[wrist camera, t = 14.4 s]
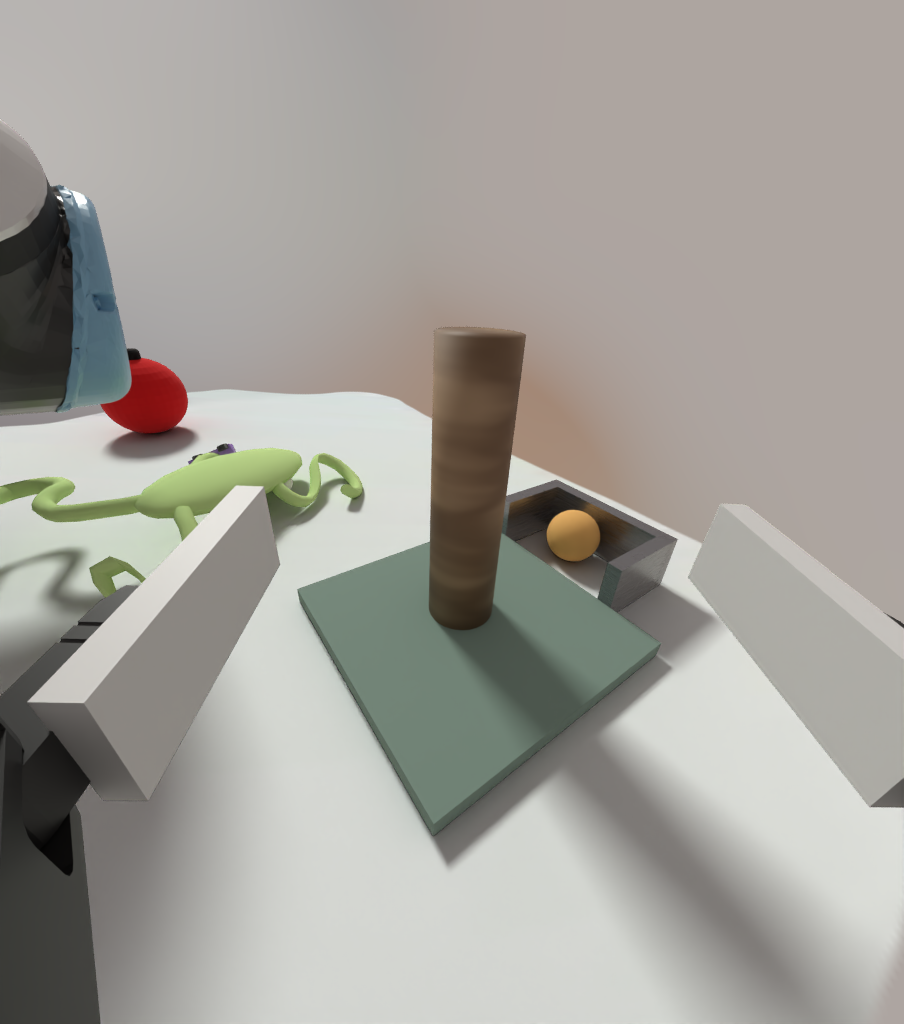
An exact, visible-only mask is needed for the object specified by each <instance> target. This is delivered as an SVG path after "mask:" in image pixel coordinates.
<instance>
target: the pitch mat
mask: <svg viewBox="0 0 904 1024" xmlns="http://www.w3.org/2000/svg"><path fill="white" fill-rule="evenodd" d="M429 568H430V542H428V543H425V544H422V545H419V546H416V547H414V548H411V549H408V550H405V551H403V552H400V553H397V554H394V555H391V556H389V557H386V558H383V559H380V560H377V561H375V562H372V563H369V564H366V565H364V566H361V567H358V568H355V569H352V570H350V571H347V572H344V573H341V574H338V575H336V576H333V577H330V578H327V579H325V580H322V581H319V582H316V583H313V584H311V585H308V586H305V587H302V588H299V589H297V590H298V595H299V600H300V602H301V604H302V606H303V608H304V609H305V611H306V613H307V615H308V617H309V618H310V620H311V622H312V624H313V625H314V627H315V629H316V631H317V632H318V634H319V636H320V638H321V639H322V641H323V643H324V645H325V647H326V648H327V650H328V652H329V654H330V655H331V657H332V659H333V661H334V662H335V664H336V666H337V668H338V669H339V671H340V673H341V675H342V676H343V678H344V680H345V682H346V684H347V685H348V687H349V689H350V691H351V692H352V694H353V696H354V698H355V699H356V701H357V703H358V705H359V706H360V708H361V710H362V712H363V714H364V715H365V717H366V719H367V721H368V722H369V724H370V726H371V728H372V729H373V731H374V733H375V735H376V736H377V738H378V740H379V742H380V744H381V745H382V747H383V749H384V751H385V752H386V754H387V756H388V758H389V759H390V761H391V763H392V765H393V766H394V768H395V770H396V772H397V773H398V775H399V777H400V779H401V781H402V782H403V784H404V786H405V788H406V789H407V791H408V793H409V795H410V796H411V798H412V800H413V802H414V803H415V805H416V807H417V809H418V811H419V812H420V814H421V816H422V818H423V819H424V821H425V823H426V825H427V826H428V828H429V830H430V832H431V833H432V835H433V836H434V835H435V834H437V833H438V832H439V831H440V830H442V829H443V828H444V827H445V826H446V825H448V824H449V823H450V822H451V821H453V820H454V819H455V818H456V817H458V816H459V815H460V814H461V813H462V812H464V811H465V810H466V809H467V808H469V807H470V806H471V805H472V804H474V803H475V802H476V801H477V800H478V799H480V798H481V797H482V796H483V795H485V794H486V793H487V792H488V791H489V790H491V789H492V788H493V787H494V786H496V785H497V784H498V783H499V782H501V781H502V780H503V779H504V778H505V777H507V776H508V775H509V774H510V773H512V772H513V771H514V770H515V769H517V768H518V767H519V766H520V765H521V764H523V763H524V762H525V761H526V760H528V759H529V758H530V757H531V756H532V755H534V754H535V753H536V752H537V751H539V750H540V749H541V748H542V747H544V746H545V745H546V744H547V743H548V742H550V741H551V740H552V739H553V738H555V737H556V736H557V735H558V734H559V733H561V732H562V731H563V730H564V729H566V728H567V727H568V726H569V725H571V724H572V723H573V722H574V721H575V720H577V719H578V718H579V717H580V716H582V715H583V714H584V713H585V712H587V711H588V710H589V709H590V708H591V707H593V706H594V705H595V704H596V703H598V702H599V701H600V700H601V699H602V698H604V697H605V696H606V695H607V694H609V693H610V692H611V691H612V690H614V689H615V688H616V687H617V686H618V685H620V684H621V683H622V682H623V681H625V680H626V679H627V678H628V677H630V676H631V675H632V674H633V673H634V672H636V671H637V670H638V669H639V668H641V667H642V666H643V665H644V664H645V663H647V662H648V661H649V660H650V659H652V658H653V657H654V656H655V655H656V654H657V651H658V649H659V647H660V644H661V643H660V642H659V641H657V640H656V639H654V638H653V637H651V636H650V635H649V634H647V633H646V632H644V631H643V630H641V629H640V628H639V627H637V626H636V625H634V624H633V623H631V622H630V621H628V620H627V619H626V618H624V617H623V616H621V615H620V614H618V613H617V612H615V611H614V610H613V609H611V608H610V607H608V606H607V605H605V604H604V603H602V602H601V601H600V600H598V599H597V598H595V597H594V596H592V595H591V594H590V593H588V592H587V591H585V590H584V589H582V588H581V587H579V586H578V585H577V584H575V583H574V582H572V581H571V580H569V579H568V578H566V577H565V576H564V575H562V574H561V573H559V572H558V571H556V570H555V569H554V568H552V567H551V566H549V565H548V564H546V563H545V562H543V561H542V560H541V559H539V558H538V557H536V556H535V555H533V554H532V553H530V552H529V551H528V550H526V549H525V548H523V547H522V546H520V545H519V544H517V543H516V542H515V541H513V540H512V539H510V538H509V537H507V536H506V535H505V534H503V533H501V541H500V549H499V557H498V565H497V574H496V582H495V590H494V598H493V606H492V613H491V616H490V618H489V619H488V620H487V622H486V623H484V624H483V625H481V626H479V627H477V628H474V629H470V630H454V629H450V628H447V627H445V626H442V625H441V624H439V623H438V622H436V621H435V620H434V619H433V617H432V616H431V614H430V611H429Z"/></svg>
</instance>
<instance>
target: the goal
mask: <svg viewBox="0 0 904 1024" xmlns="http://www.w3.org/2000/svg"><path fill="white" fill-rule="evenodd" d="M567 510H579V511H582V512H585V513H587V514H588V515H590V516H591V517H592V518H593V519H594V520H595V521H596V523H597V525H598V527H599V530H600V542H599V545H598V547H597V549H596V551H595V552H594V554H596V555H597V556H599V557H601V558H602V559H604V560H606V561H607V562H608V565H607V568H606V571H605V575H604V578H603V582H602V585H601V588H600V592H599V595H598V600H600V601H601V602H602V603H604V604H605V605H607V606H608V607H610V608H611V609H613V610H614V611H615V612H618V611H620V610H621V609H623V608H625V607H626V606H628V605H629V604H631V603H632V602H634V601H635V600H637V599H638V598H640V597H641V596H643V595H644V594H646V593H647V592H649V591H651V590H652V589H654V588H655V587H657V586H658V585H660V583H661V581H662V578H663V576H664V573H665V571H666V568H667V565H668V563H669V560H670V558H671V555H672V552H673V550H674V547H675V545H676V542H677V540H678V539H676V538H674V537H672V536H670V535H668V534H666V533H664V532H662V531H660V530H658V529H656V528H654V527H652V526H650V525H648V524H646V523H644V522H641V521H639V520H637V519H635V518H633V517H631V516H629V515H627V514H625V513H623V512H621V511H619V510H617V509H615V508H613V507H611V506H609V505H607V504H605V503H603V502H601V501H599V500H597V499H595V498H593V497H591V496H589V495H587V494H585V493H583V492H581V491H579V490H577V489H575V488H572V487H570V486H568V485H566V484H564V483H562V482H560V481H558V480H554V481H551V482H548V483H545V484H542V485H539V486H536V487H533V488H530V489H527V490H524V491H521V492H517V493H514V494H511V495H508V496H506V501H505V509H504V517H503V525H502V533H503V534H505V535H506V536H507V537H509V538H510V539H512V540H513V541H516V540H519V539H521V538H523V537H526V536H528V535H531V534H533V533H536V532H538V531H540V530H543V529H545V528H548V526H549V524H550V522H551V521H552V519H553V518H554V517H555V516H556V515H558V514H559V513H561V512H564V511H567Z"/></svg>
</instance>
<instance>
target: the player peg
mask: <svg viewBox="0 0 904 1024" xmlns="http://www.w3.org/2000/svg"><path fill="white" fill-rule="evenodd" d="M525 338H526V335H525V334H523V333H521V332H516V331H510V330H504V329H494V328H481V327H445V328H438V329H435V330H434V363H433V364H434V365H433V366H434V367H433V414H432V416H433V417H432V465H431V516H430V568H429V611H430V614H431V616H432V617H433V619H434V620H435V621H436V622H438V623H439V624H441V625H442V626H445V627H447V628H450V629H454V630H470V629H474V628H477V627H479V626H481V625H483V624H484V623H486V622H487V620H488V619H489V618H490V616H491V613H492V606H493V598H494V590H495V582H496V574H497V565H498V557H499V549H500V541H501V533H502V525H503V517H504V509H505V501H506V493H507V485H508V477H509V468H510V460H511V452H512V444H513V435H514V428H515V420H516V411H517V404H518V395H519V387H520V380H521V371H522V363H523V355H524V347H525Z"/></svg>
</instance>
